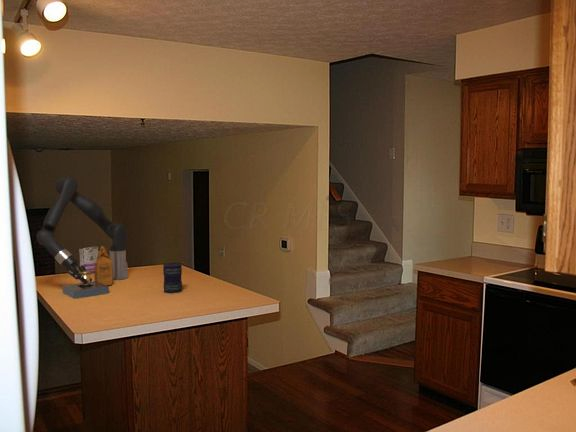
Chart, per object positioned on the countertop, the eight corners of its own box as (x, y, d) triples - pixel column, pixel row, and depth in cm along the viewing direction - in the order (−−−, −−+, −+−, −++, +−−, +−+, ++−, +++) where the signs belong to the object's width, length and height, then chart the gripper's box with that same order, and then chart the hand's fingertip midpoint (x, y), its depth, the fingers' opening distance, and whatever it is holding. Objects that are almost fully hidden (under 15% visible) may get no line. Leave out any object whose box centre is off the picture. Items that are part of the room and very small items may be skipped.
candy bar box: (95, 271, 348) (94, 246, 346) (99, 272, 345) (99, 247, 343) (79, 273, 339) (78, 248, 338) (84, 274, 336) (83, 248, 334)
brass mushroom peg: (88, 288, 287) (88, 270, 286) (92, 290, 283) (92, 271, 282) (78, 290, 283) (77, 271, 283) (82, 291, 279) (81, 272, 278)
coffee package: (111, 282, 313) (110, 245, 311) (114, 286, 301) (113, 247, 300) (93, 283, 309) (92, 245, 307) (95, 287, 297) (94, 248, 296)
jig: (95, 288, 296) (95, 281, 296) (109, 293, 282) (108, 286, 282) (62, 292, 284) (62, 285, 284) (74, 298, 271) (74, 291, 270)
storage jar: (177, 293, 282) (177, 266, 280) (160, 293, 284) (159, 265, 282) (185, 289, 291) (184, 262, 290) (168, 289, 293) (167, 262, 292)
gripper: (64, 256, 275) (87, 280, 275) (77, 252, 289) (99, 274, 289) (54, 266, 276) (78, 290, 276) (67, 262, 290) (90, 284, 290)
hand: (88, 282), depth 283 cm, fingers closed on brass mushroom peg, 4 cm apart
